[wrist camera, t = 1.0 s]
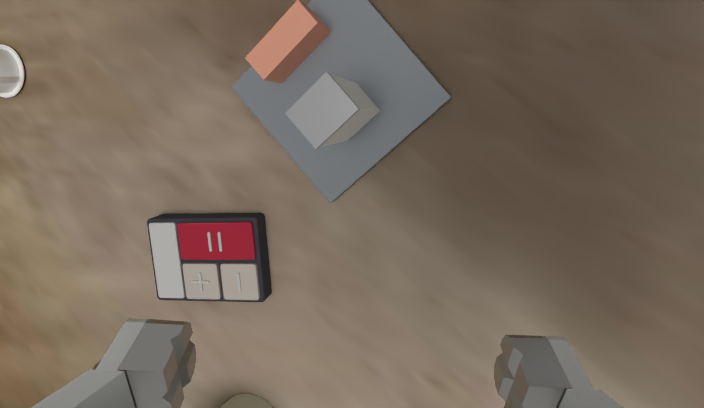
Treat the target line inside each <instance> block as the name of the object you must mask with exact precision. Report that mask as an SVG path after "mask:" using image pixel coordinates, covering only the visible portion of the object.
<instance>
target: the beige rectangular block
mask: <svg viewBox="0 0 704 408" xmlns="http://www.w3.org/2000/svg"><path fill="white" fill-rule="evenodd" d="M378 112H380V110H379V108H378V107H377V106H376V105H375V104H374V103H373V101H372V100H371V99H370V98H369V97H368V96H367V94H366V93H365V92H364V91H363V90H362V89H361V87H360V86H359V85H358V84H357V83H355V82H352V81H349V80H346V79H343V78H340V77H337V76H334V75H331V74H330V73H329V72H326V73H325V74H324V75H323V76H322V77H321V78H320V79H319V80H318V81H317V82H316V83H315V84H314V85H313V86H312V87H311V88H310V89H309V90H308V91H307V92H306V93H305V94H304V95H303V96H302V97H301V98H300V99H299V100H298V101H297V102H296V103H295V104H294V105H293V106H292V107H291V108H290V109H289V110H288V111H287V112H286V113H285V114H286V115H287V116H288V117H289V119H290V120H291V121H292V122H293V123H294V124H295V126H296V127H297V128H298V129H299V130H300V131H301V133H302V134H303V135H304V136H305V137H306V139H307V140H308V141H309V142H310V143H311V144H312V146H313V147H314V148H315V149H318V148H319V147H322V146H326V145H331V144H336V143H340V142H345V141H348V140H349V139H350V138H351V137H352V136H353V135H355V134H356V133H357V132H358V131H359V130H360V129H361V128H362V127H363V126H364V125H365V124H367V123H368V122H369V121H370V120H371V119H372V118H373V117H374V116H375V115H376V114H377V113H378Z"/></svg>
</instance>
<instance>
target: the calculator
mask: <svg viewBox="0 0 704 408" xmlns="http://www.w3.org/2000/svg"><path fill="white" fill-rule="evenodd" d="M147 226H148V233H149V240H150V247H151V254H152V261H153V268H154V275H155V282H156V289H157V296H158V299H160V300H187V301H233V302H263V301H265V299H266V298H267V297H268V296H269V295H270V294H271V293H272V290H271V279H270V268H269V257H268V247H267V236H266V225H265V216H264V214H262V213H217V214H162V215H159V216H156V217H153V218H151V219H148V221H147Z"/></svg>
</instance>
